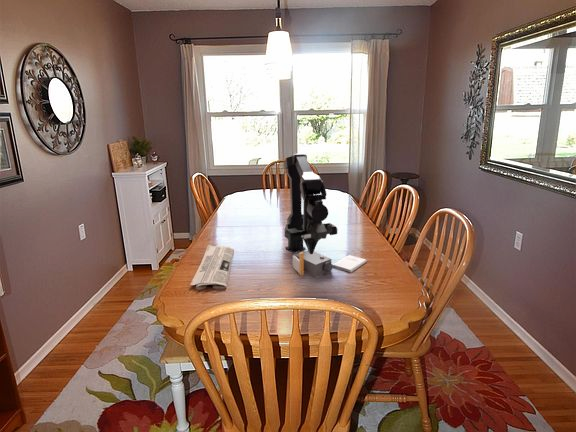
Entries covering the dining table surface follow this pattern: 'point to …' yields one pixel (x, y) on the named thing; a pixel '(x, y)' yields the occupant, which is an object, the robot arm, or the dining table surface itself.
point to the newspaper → (214, 267)
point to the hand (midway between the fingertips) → (311, 253)
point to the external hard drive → (349, 263)
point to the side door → (298, 263)
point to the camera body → (316, 263)
